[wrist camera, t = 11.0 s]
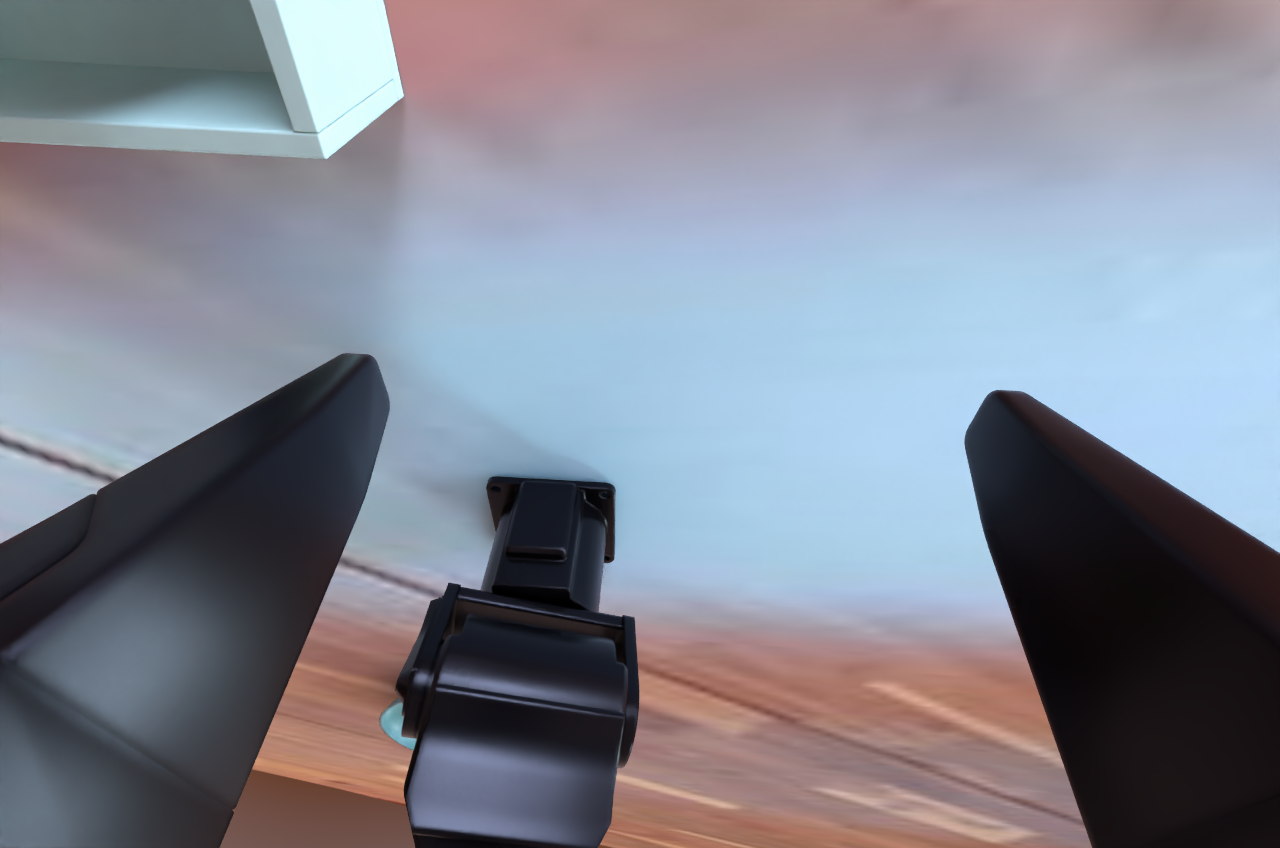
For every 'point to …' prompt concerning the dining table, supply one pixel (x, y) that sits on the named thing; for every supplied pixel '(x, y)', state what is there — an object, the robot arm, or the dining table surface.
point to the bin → (195, 74)
